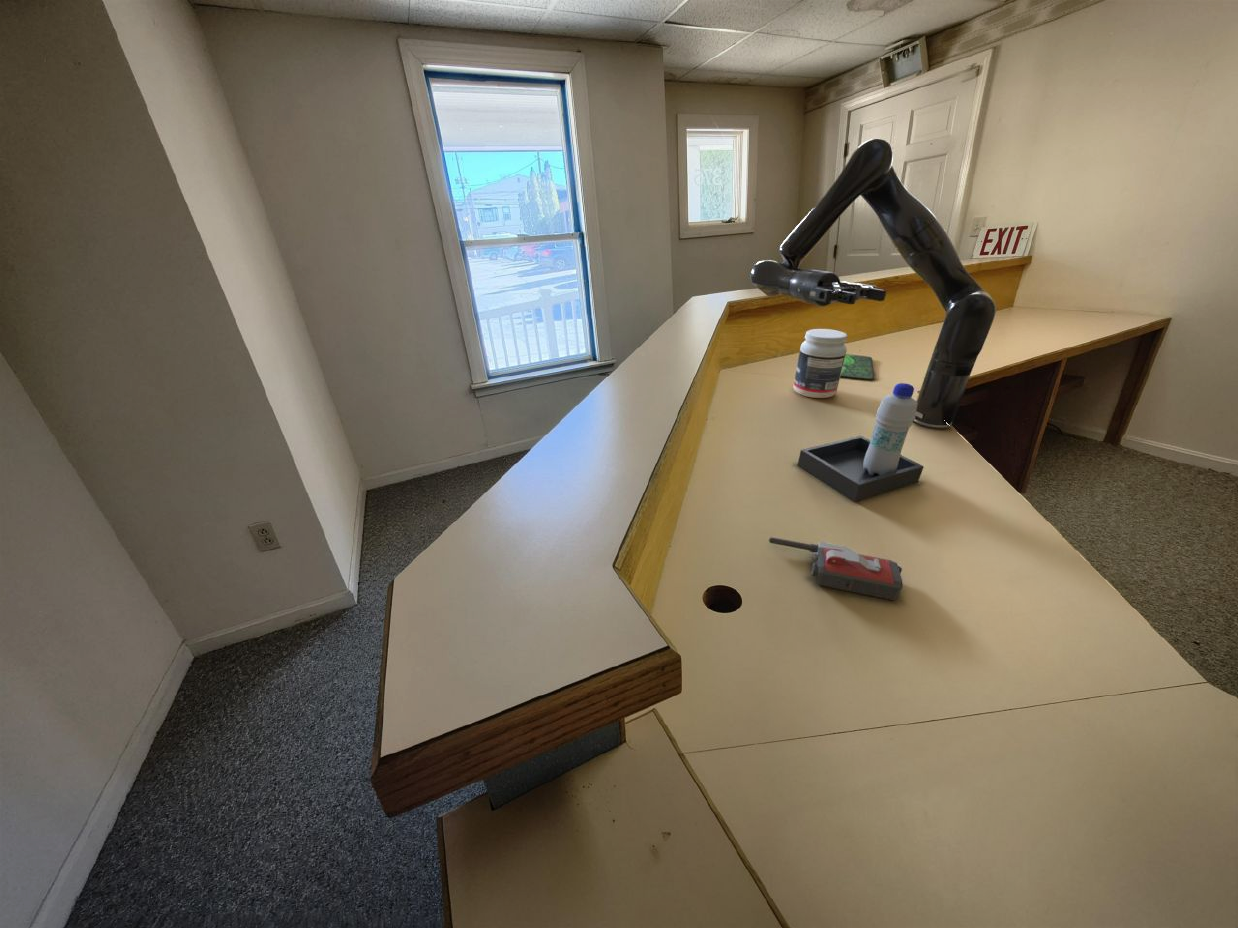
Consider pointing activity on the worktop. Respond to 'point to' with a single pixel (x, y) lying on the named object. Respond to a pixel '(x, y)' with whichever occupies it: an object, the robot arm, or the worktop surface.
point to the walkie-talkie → (851, 569)
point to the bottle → (890, 430)
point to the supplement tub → (820, 363)
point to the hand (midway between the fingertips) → (869, 297)
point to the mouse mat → (857, 367)
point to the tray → (855, 469)
